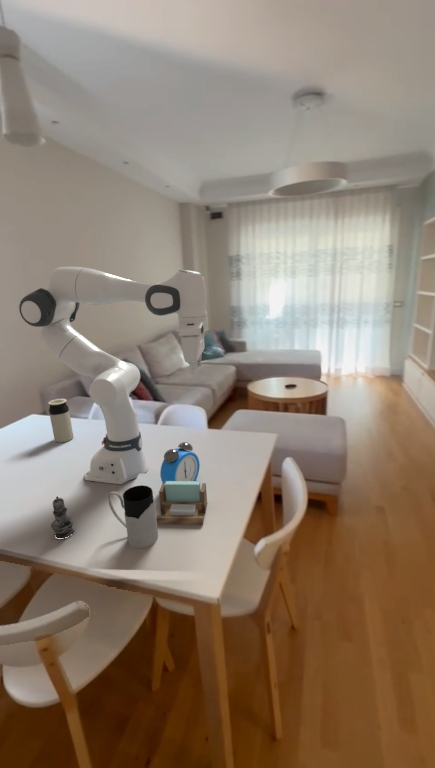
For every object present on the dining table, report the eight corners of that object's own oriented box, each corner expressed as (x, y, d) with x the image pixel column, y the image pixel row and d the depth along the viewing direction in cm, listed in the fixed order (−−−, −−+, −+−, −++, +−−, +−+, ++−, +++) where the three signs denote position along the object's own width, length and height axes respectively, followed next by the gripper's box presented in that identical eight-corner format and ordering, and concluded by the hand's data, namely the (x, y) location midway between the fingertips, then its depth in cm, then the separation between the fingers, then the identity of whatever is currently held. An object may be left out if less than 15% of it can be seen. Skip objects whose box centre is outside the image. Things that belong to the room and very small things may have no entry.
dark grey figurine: (57, 528, 109) (49, 491, 105) (77, 526, 109) (71, 489, 106) (50, 541, 103) (42, 503, 100) (72, 539, 104) (64, 501, 100)
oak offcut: (165, 520, 107) (164, 515, 106) (167, 513, 110) (167, 508, 109) (196, 521, 106) (196, 516, 105) (198, 514, 109) (197, 509, 109)
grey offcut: (169, 515, 106) (169, 510, 106) (172, 509, 109) (171, 504, 109) (194, 516, 106) (194, 511, 105) (196, 509, 109) (195, 504, 108)
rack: (157, 528, 106) (154, 501, 104) (165, 507, 116) (163, 482, 113) (203, 529, 105) (201, 502, 102) (207, 507, 114) (205, 482, 112)
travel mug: (69, 442, 166) (62, 403, 161) (51, 443, 166) (44, 404, 161) (76, 435, 173) (69, 397, 168) (59, 435, 174) (52, 398, 168)
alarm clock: (175, 500, 119) (171, 456, 115) (161, 494, 123) (156, 452, 119) (201, 481, 129) (198, 440, 125) (187, 476, 133) (184, 437, 128)
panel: (167, 509, 112) (164, 484, 109) (168, 506, 114) (166, 481, 111) (200, 510, 111) (198, 484, 108) (201, 506, 112) (199, 481, 110)
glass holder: (148, 557, 95) (142, 506, 91) (103, 544, 101) (95, 495, 97) (166, 535, 103) (161, 487, 99) (124, 524, 109) (117, 478, 104)
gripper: (188, 321, 125) (191, 362, 128) (177, 331, 105) (180, 378, 109) (207, 320, 124) (209, 362, 128) (199, 330, 104) (202, 378, 108)
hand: (196, 370), depth 118 cm, fingers open, 8 cm apart
